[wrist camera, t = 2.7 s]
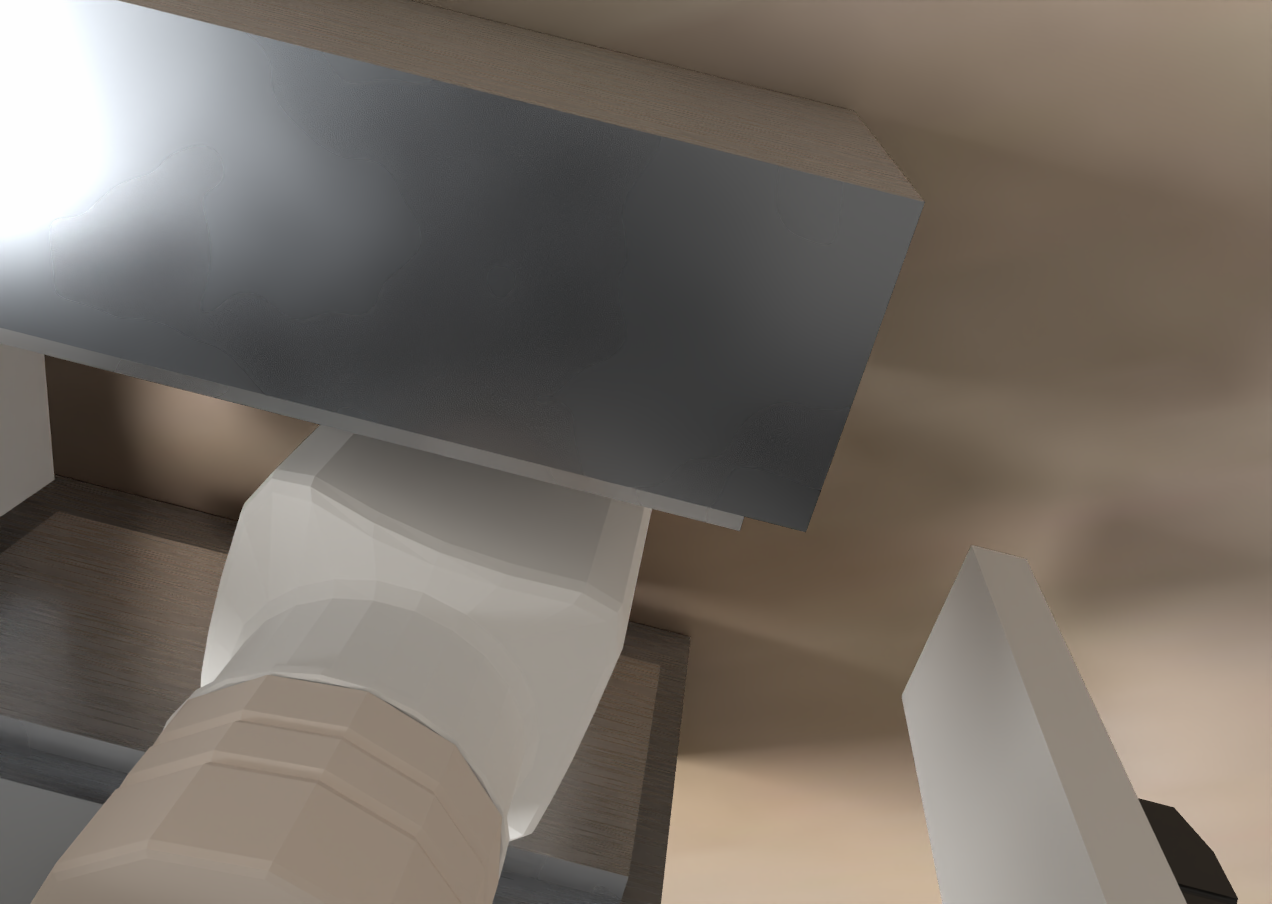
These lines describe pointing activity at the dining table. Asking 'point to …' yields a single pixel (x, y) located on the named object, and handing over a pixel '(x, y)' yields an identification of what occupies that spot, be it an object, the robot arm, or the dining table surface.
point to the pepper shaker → (373, 688)
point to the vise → (411, 335)
